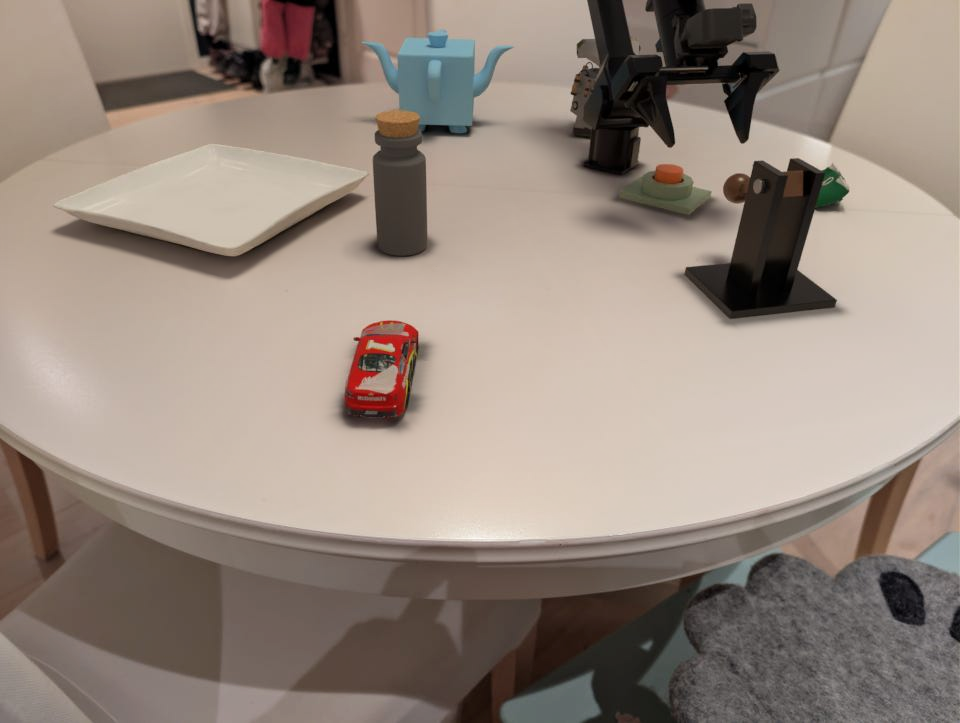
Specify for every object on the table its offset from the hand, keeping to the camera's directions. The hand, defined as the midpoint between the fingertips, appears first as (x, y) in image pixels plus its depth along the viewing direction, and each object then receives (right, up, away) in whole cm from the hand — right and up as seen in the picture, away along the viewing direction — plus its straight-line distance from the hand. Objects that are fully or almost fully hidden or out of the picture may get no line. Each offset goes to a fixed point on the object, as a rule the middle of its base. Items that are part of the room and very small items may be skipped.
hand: (708, 144), depth 85 cm
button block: (-1, -3, +16) cm, 17 cm away
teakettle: (-33, +17, +44) cm, 58 cm away
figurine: (-5, +14, +42) cm, 45 cm away
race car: (-34, -27, -20) cm, 48 cm away
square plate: (-58, -6, +9) cm, 60 cm away
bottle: (-35, -11, +2) cm, 37 cm away
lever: (+3, -8, -8) cm, 12 cm away
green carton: (+20, -3, +18) cm, 27 cm away
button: (-1, -1, +15) cm, 15 cm away
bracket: (+3, -18, -6) cm, 19 cm away
